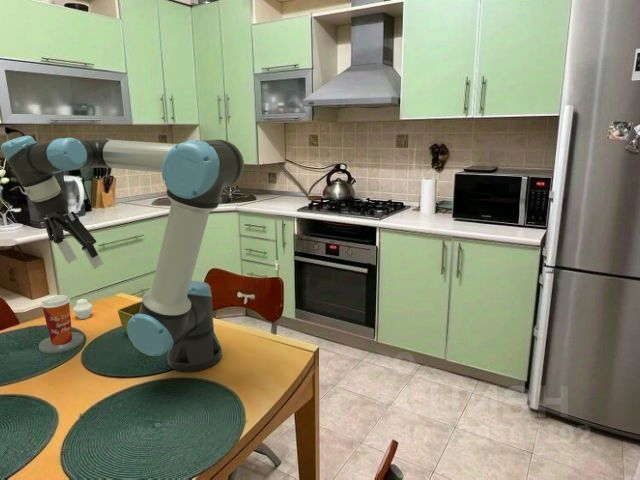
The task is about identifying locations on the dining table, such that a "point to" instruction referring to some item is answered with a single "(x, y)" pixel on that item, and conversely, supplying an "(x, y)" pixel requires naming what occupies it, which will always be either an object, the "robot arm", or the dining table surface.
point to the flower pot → (128, 313)
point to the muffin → (82, 309)
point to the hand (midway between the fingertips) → (85, 263)
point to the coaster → (49, 348)
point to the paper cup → (58, 318)
